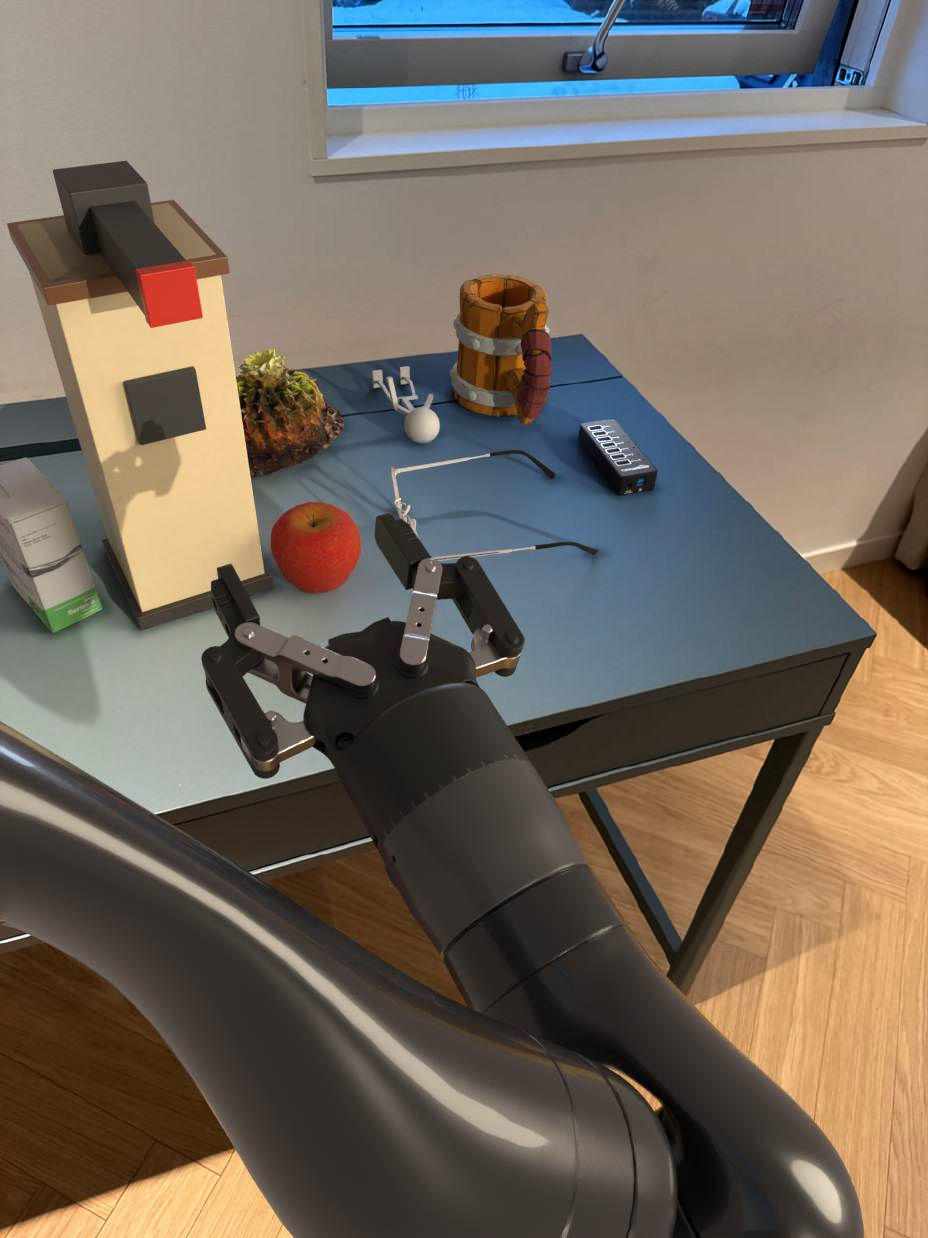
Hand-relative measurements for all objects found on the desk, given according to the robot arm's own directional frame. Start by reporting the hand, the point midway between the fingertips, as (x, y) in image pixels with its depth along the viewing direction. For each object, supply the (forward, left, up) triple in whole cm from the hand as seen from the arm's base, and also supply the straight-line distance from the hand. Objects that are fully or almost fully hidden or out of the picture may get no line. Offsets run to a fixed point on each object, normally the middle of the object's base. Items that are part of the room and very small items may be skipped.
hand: (305, 549), depth 46 cm
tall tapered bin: (0, +32, -26) cm, 41 cm away
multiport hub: (+46, +28, -26) cm, 60 cm away
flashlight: (0, +26, +4) cm, 27 cm away
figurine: (+31, +47, -26) cm, 62 cm away
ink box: (-11, +34, -26) cm, 44 cm away
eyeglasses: (+28, +25, -26) cm, 46 cm away
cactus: (+15, +50, -26) cm, 58 cm away
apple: (+10, +25, -26) cm, 38 cm away
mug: (+42, +44, -26) cm, 66 cm away
